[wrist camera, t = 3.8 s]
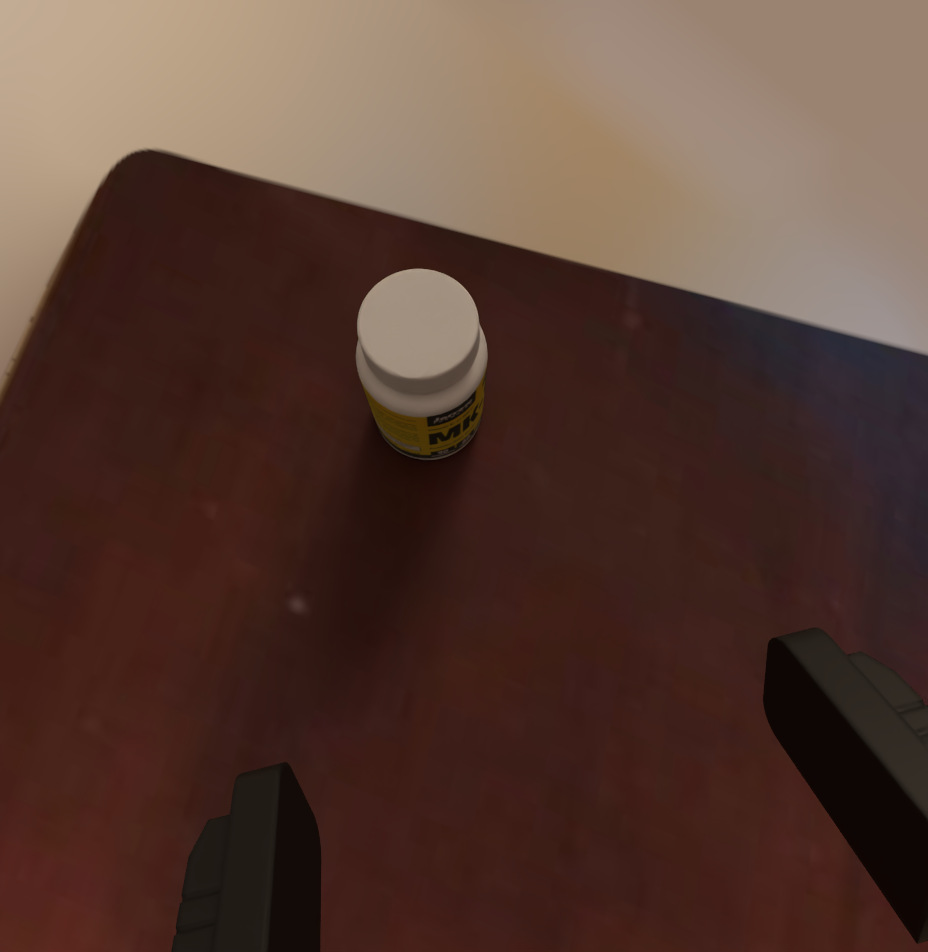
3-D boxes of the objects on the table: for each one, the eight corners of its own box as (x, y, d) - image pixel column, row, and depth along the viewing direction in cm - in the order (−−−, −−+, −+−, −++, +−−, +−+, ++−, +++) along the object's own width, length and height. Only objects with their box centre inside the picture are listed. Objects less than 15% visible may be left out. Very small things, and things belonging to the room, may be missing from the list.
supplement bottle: (439, 483, 29) (429, 420, 21) (354, 421, 30) (312, 337, 22) (504, 399, 30) (519, 307, 22) (420, 341, 31) (404, 231, 23)
